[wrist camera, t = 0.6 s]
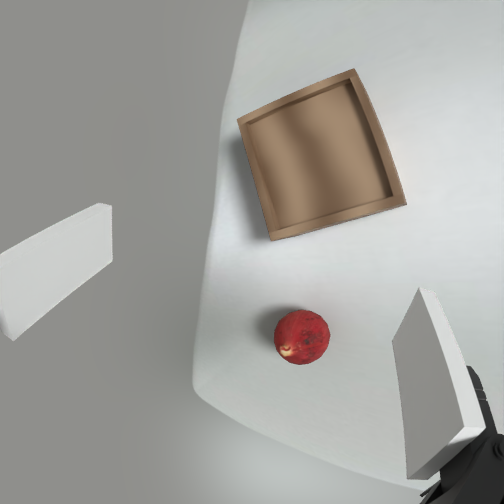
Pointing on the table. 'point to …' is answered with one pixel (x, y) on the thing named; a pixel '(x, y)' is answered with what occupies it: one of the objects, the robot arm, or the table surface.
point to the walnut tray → (320, 158)
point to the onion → (301, 337)
